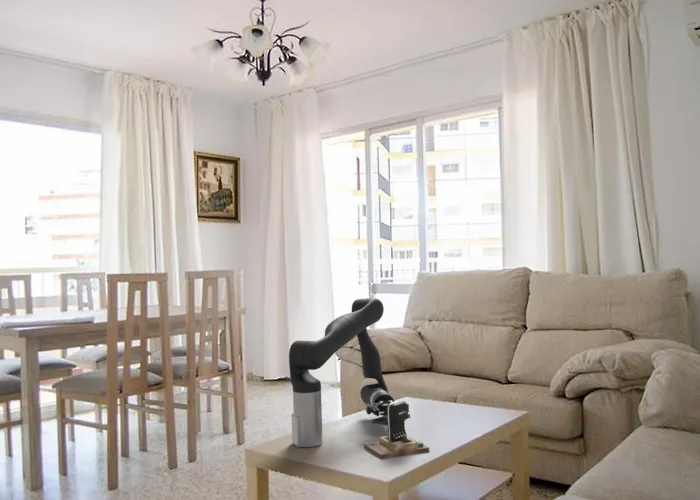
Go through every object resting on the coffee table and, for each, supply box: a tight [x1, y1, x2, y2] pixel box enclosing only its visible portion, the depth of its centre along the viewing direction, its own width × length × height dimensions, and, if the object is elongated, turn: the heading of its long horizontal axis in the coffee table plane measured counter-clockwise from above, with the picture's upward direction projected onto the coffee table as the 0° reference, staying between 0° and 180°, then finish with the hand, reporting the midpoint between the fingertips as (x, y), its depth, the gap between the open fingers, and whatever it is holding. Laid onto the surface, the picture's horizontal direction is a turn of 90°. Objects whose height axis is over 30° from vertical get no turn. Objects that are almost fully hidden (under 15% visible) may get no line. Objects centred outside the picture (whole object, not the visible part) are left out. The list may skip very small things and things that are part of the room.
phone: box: [371, 413, 411, 426], centre depth 232 cm, size 8×1×15 cm
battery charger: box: [386, 400, 409, 441], centre depth 195 cm, size 7×4×11 cm, turn 137°
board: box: [363, 435, 430, 460], centre depth 193 cm, size 16×13×3 cm
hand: (390, 412), depth 205 cm, fingers open, 8 cm apart
